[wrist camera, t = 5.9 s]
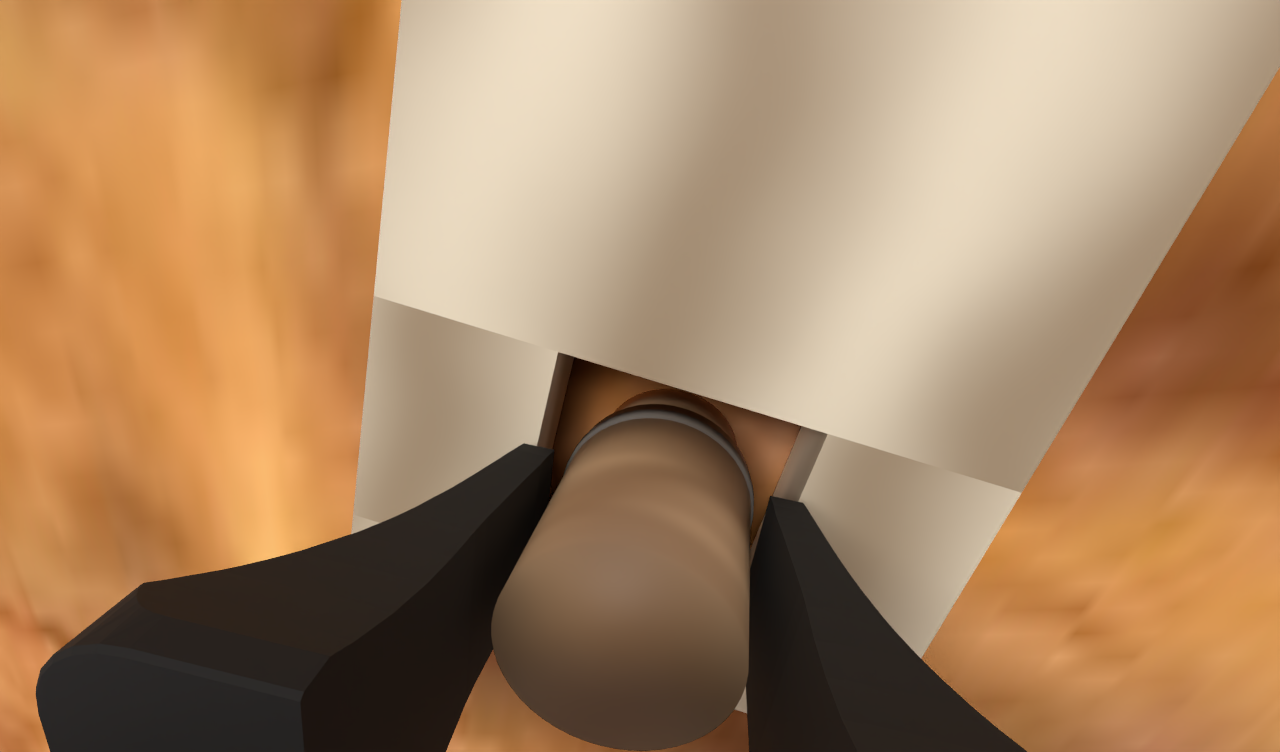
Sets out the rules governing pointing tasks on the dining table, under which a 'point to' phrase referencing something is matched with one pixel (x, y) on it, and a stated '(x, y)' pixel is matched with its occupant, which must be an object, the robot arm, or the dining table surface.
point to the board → (791, 236)
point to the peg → (636, 581)
